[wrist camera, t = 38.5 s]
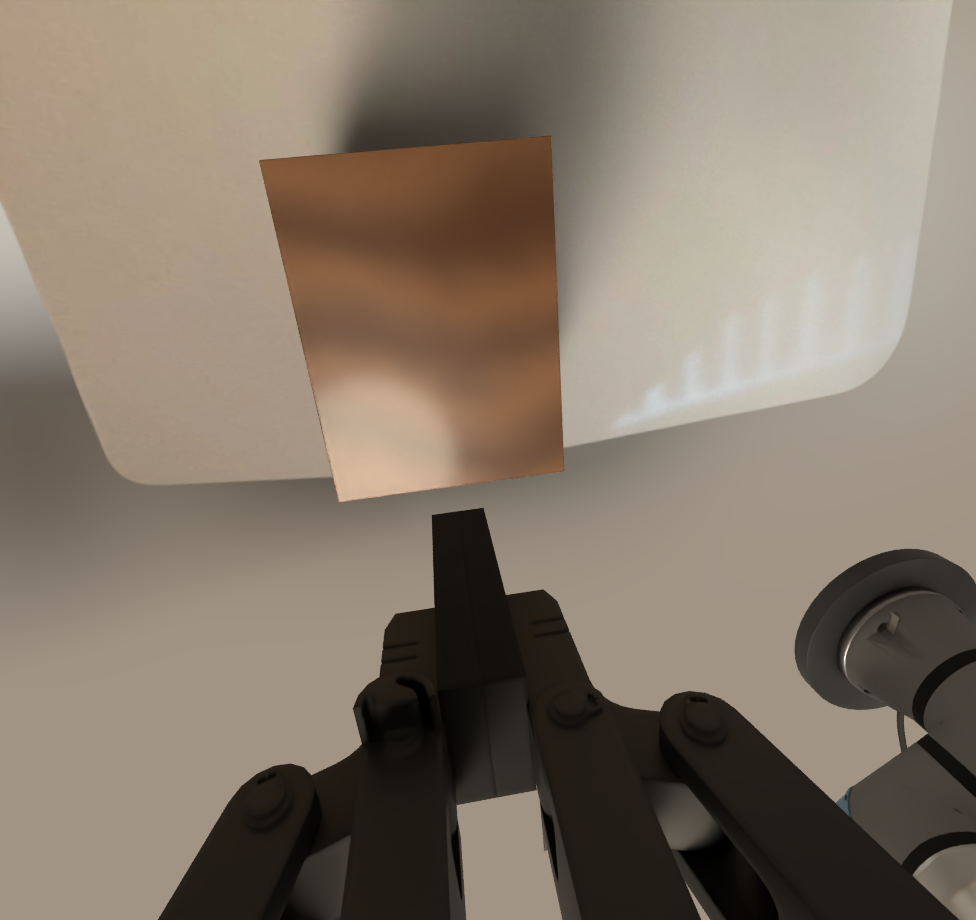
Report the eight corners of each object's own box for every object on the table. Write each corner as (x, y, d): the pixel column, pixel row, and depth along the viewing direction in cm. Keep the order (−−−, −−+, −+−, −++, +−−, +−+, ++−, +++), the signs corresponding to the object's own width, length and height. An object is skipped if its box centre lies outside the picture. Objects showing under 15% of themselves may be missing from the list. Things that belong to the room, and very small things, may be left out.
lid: (263, 162, 25) (258, 159, 25) (547, 138, 27) (551, 135, 26) (340, 497, 33) (338, 502, 32) (561, 466, 34) (564, 471, 33)
